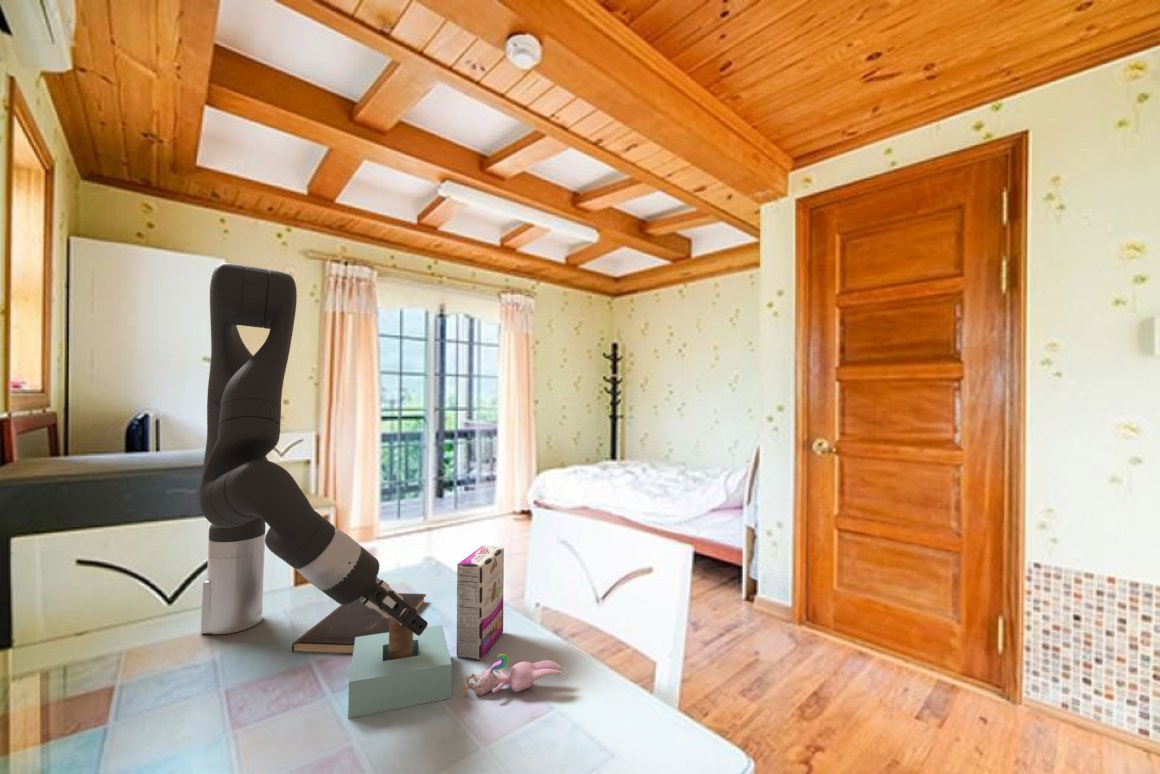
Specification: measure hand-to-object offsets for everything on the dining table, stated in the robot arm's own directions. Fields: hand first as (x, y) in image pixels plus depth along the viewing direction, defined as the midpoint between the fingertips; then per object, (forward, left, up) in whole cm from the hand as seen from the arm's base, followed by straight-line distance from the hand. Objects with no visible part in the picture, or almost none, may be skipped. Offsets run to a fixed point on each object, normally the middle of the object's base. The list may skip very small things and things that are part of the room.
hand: (409, 620), depth 79 cm
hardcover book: (-7, +23, -10) cm, 26 cm away
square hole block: (-1, -1, -9) cm, 9 cm away
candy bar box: (+13, +7, -9) cm, 18 cm away
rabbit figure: (+15, -8, -10) cm, 20 cm away
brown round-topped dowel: (-1, -1, -9) cm, 9 cm away
